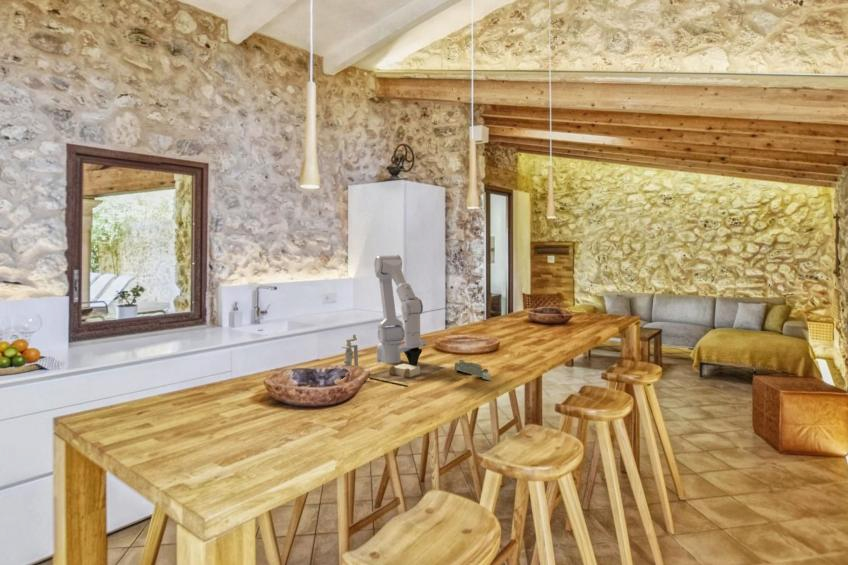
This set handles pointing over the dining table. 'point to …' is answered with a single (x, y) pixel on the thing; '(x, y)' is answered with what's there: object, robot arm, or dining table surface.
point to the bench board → (401, 378)
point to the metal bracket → (472, 369)
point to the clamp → (351, 352)
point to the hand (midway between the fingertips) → (413, 368)
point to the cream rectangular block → (413, 369)
